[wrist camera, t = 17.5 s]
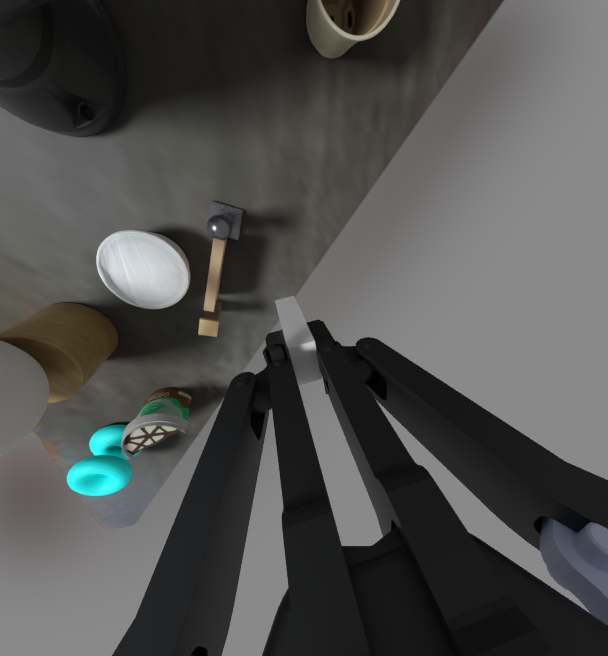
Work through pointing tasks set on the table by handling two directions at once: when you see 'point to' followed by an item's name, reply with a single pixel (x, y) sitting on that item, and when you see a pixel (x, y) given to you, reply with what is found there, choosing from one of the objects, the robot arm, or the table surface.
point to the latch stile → (210, 321)
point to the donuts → (102, 465)
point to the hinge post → (224, 221)
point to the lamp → (48, 363)
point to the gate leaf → (214, 273)
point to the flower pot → (345, 23)
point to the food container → (157, 420)
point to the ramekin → (143, 268)
